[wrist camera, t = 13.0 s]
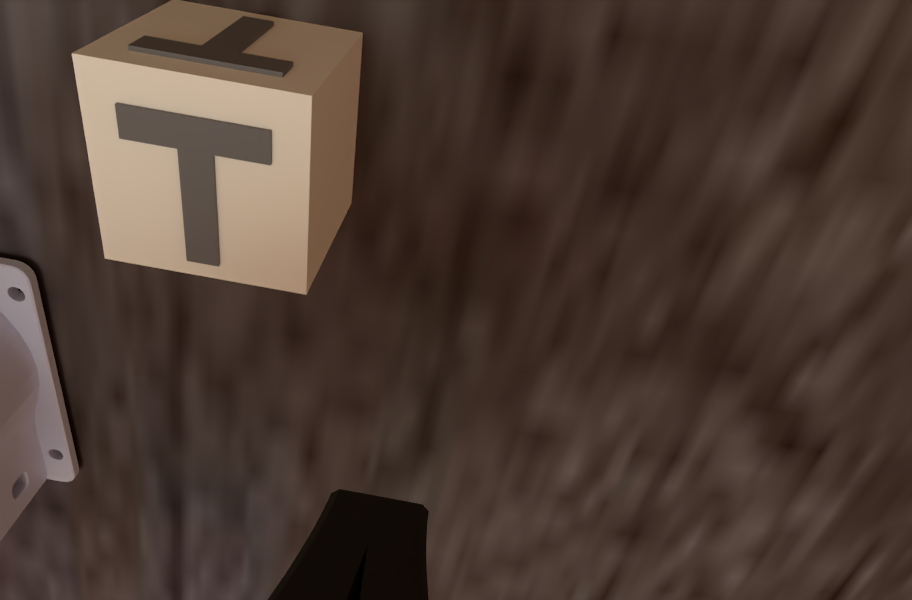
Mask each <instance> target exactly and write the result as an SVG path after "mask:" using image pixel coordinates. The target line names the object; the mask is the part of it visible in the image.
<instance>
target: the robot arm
mask: <svg viewBox="0 0 912 600" xmlns="http://www.w3.org/2000/svg"><path fill="white" fill-rule="evenodd" d="M17 288H18V289H20V290H21V291H22V292H23V293H21V292H20V291H19V290H18V289H17ZM78 473H79V466H78V461H77V457H76V452H75V448H74V443H73V439H72V434H71V430H70V425H69V421H68V417H67V412H66V408H65V403H64V399H63V394H62V390H61V385H60V381H59V376H58V372H57V367H56V363H55V358H54V354H53V349H52V345H51V340H50V336H49V331H48V327H47V323H46V318H45V314H44V309H43V305H42V300H41V296H40V291H39V287H38V282H37V278H36V275H35V273H34V271H33V270H32V269H31V268H30V267H29V266H28V265H26V264H25V263H23V262H20V261H17V260H12V259H7V258H1V257H0V541H1V540H2V539H3V537H4V536H5V534H6V533H7V532H8V530H9V529H10V528H11V526H12V525H13V524H14V522H15V521H16V520H17V518H18V517H19V516H20V514H21V513H22V512H23V510H24V509H25V508H26V506H27V505H28V504H29V502H30V501H31V500H32V498H33V497H34V496H35V494H36V493H37V491H38V490H39V489H40V487H41V486H42V485H43V483H44V482H45V481H46V479H51V480H56V481H62V482H69V481H72V480H73V479H74V478H75V477H76V475H77V474H78ZM428 512H429V511H428V510H427V509H426V508H425V507H424V506H423V505H422V504H417V503H411V502H406V501H401V500H395V499H390V498H384V497H379V496H374V495H368V494H363V493H358V492H352V491H347V490H341V489H339V490H337V491H335V492H333V493H331V495H330V498H329V500H328V502H327V504H326V506H325V508H324V510H323V512H322V514H321V516H320V518H319V519H318V521H317V523H316V525H315V527H314V529H313V530H312V532H311V534H310V536H309V537H308V539H307V541H306V542H305V544H304V546H303V547H302V549H301V550H300V552H299V554H298V555H297V557H296V558H295V560H294V561H293V563H292V565H291V566H290V568H289V569H288V571H287V572H286V574H285V576H284V577H283V578H282V580H281V581H280V583H279V584H278V586H277V587H276V588H275V590H274V591H273V593H272V594H271V596H270V597H269V599H268V600H428V587H427V571H426V534H427V520H428Z"/></svg>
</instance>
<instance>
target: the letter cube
mask: <svg viewBox="0 0 912 600" xmlns="http://www.w3.org/2000/svg"><path fill="white" fill-rule="evenodd" d="M362 39H363V33H362V32H356V31H351V30H345V29H339V28H334V27H328V26H322V25H317V24H311V23H305V22H300V21H294V20H289V19H283V18H277V17H272V16H266V15H260V14H255V13H249V12H243V11H238V10H232V9H226V8H221V7H215V6H210V5H204V4H198V3H193V2H187V1H181V0H171V1H169V2H167V3H166V4H164V5H162V6H160V7H158V8H156V9H154V10H152V11H150V12H149V13H147V14H145V15H143V16H141V17H139V18H137V19H135V20H133V21H132V22H130V23H128V24H126V25H124V26H122V27H120V28H118V29H116V30H115V31H113V32H111V33H109V34H107V35H105V36H103V37H101V38H100V39H98V40H96V41H94V42H92V43H90V44H88V45H86V46H84V47H83V48H81V49H79V50H77V51H75V52H73V53H72V58H73V64H74V71H75V77H76V83H77V89H78V95H79V102H80V108H81V114H82V120H83V126H84V133H85V139H86V145H87V151H88V157H89V163H90V170H91V176H92V182H93V188H94V194H95V201H96V207H97V213H98V219H99V225H100V231H101V238H102V244H103V250H104V256H105V259H110V260H116V261H121V262H127V263H132V264H138V265H144V266H149V267H155V268H160V269H166V270H171V271H177V272H183V273H188V274H194V275H199V276H205V277H210V278H216V279H222V280H227V281H233V282H238V283H244V284H249V285H255V286H260V287H266V288H272V289H277V290H283V291H288V292H294V293H299V294H305V295H306V294H307V292H308V290H309V288H310V286H311V284H312V282H313V280H314V278H315V276H316V274H317V272H318V270H319V268H320V266H321V264H322V262H323V260H324V258H325V256H326V254H327V252H328V250H329V248H330V246H331V244H332V242H333V240H334V238H335V236H336V234H337V232H338V230H339V228H340V226H341V224H342V222H343V220H344V218H345V215H346V213H347V211H348V209H349V207H350V205H351V203H352V190H353V175H354V160H355V145H356V129H357V114H358V99H359V84H360V69H361V54H362Z"/></svg>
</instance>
